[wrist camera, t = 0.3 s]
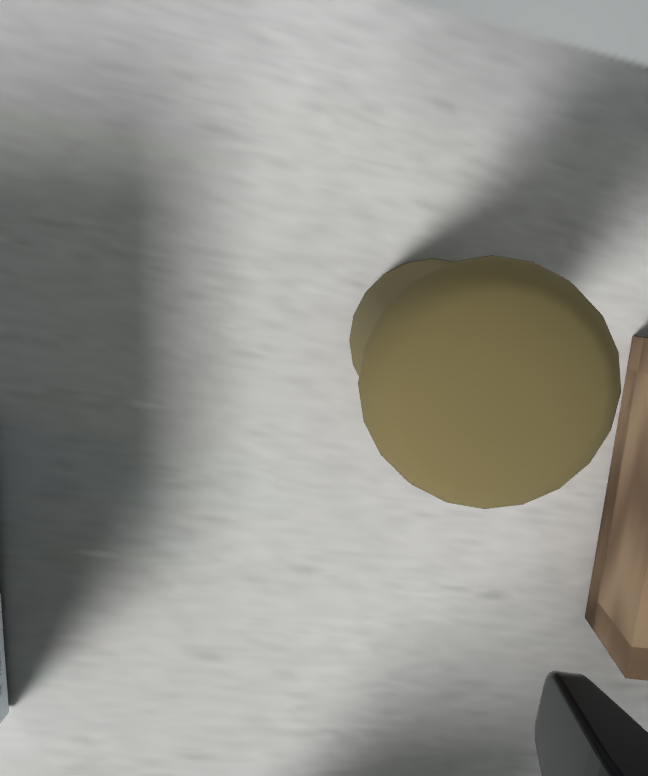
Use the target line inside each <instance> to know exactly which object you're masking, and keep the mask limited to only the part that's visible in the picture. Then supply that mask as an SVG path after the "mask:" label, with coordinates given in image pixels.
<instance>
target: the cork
mask: <svg viewBox="0 0 648 776" xmlns="http://www.w3.org/2000/svg"><path fill="white" fill-rule="evenodd" d="M349 341H350V347H351V354H352V360H353V365H354V367H355V369H356V371H357V373H358V375H359V382H358V386H359V393H360V399H361V406H362V413H363V419H364V423H365V425H366V427H367V429H368V431H369V433H370V434H371V436H372V438H373V440H374V442H375V444H376V446H377V448H378V450H379V452H380V454H381V455H382V456H383V457H384V458H385V459H386V460H387V461H388V462H389V463H390V464H391V465H392V466H393V467H394V468H395V469H396V470H397V471H398V472H399V473H400V474H401V475H402V476H403V477H404V478H405V479H406V480H407V481H408V482H409V483H411V484H412V485H414V486H416V487H418V488H420V489H421V490H423V491H425V492H427V493H429V494H431V495H433V496H435V497H437V498H439V499H441V500H443V501H445V502H447V503H453V504H459V505H465V506H470V507H476V508H482V509H488V508H496V507H505V506H513V505H521V504H525V503H527V502H529V501H532V500H534V499H536V498H539V497H541V496H543V495H546V494H548V493H550V492H553V491H555V490H557V489H559V488H561V487H562V486H563V485H564V484H565V483H566V482H568V481H569V480H570V479H571V478H572V477H574V476H575V475H576V474H577V473H578V472H580V471H581V470H582V469H583V468H584V467H586V466H587V465H588V464H589V463H590V462H591V460H592V458H593V457H594V455H595V454H596V452H597V451H598V449H599V448H600V446H601V445H602V443H603V441H604V440H605V438H606V437H607V435H608V434H609V432H610V431H611V428H612V424H613V420H614V417H615V413H616V409H617V405H618V401H619V398H620V394H621V382H620V368H619V353H618V350H617V348H616V345H615V343H614V341H613V338H612V336H611V334H610V332H609V329H608V327H607V325H606V322H605V320H604V318H603V316H602V315H601V313H600V312H599V311H598V310H597V309H596V308H595V307H594V306H593V305H592V304H591V303H590V302H589V301H588V300H587V298H586V297H585V296H584V295H583V294H582V293H581V292H580V291H579V290H578V289H577V288H576V287H575V286H574V285H573V284H572V283H571V282H570V281H568V280H566V279H565V278H563V277H561V276H559V275H557V274H555V273H553V272H551V271H549V270H547V269H545V268H544V267H542V266H540V265H538V264H536V263H534V262H530V261H524V260H517V259H511V258H505V257H498V256H492V255H491V256H485V257H479V258H473V259H467V260H461V261H455V262H453V261H446V260H440V259H434V258H432V259H426V260H420V261H413V262H407V263H405V264H403V265H401V266H399V267H397V268H395V269H393V270H391V271H390V272H388V273H386V274H384V275H383V276H382V277H381V278H380V279H379V280H378V281H377V282H376V283H375V284H374V285H373V286H372V287H371V288H370V289H369V290H368V291H367V292H366V293H365V294H364V296H363V298H362V300H361V302H360V304H359V306H358V308H357V310H356V312H355V314H354V316H353V322H352V328H351V334H350V340H349Z"/></svg>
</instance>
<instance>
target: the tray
mask: <svg viewBox="0 0 648 776" xmlns="http://www.w3.org/2000/svg"><path fill="white" fill-rule="evenodd" d="M585 618H586V620H587V621H588V623H589V624H590V626H591V627H592V629H593V630H594V632H595V633H596V635H597V636H598V638H599V639H600V641H601V642H602V644H603V645H604V647H605V648H606V650H607V651H608V653H609V654H610V656H611V657H612V659H613V660H614V662H615V663H616V665H617V666H618V668H619V669H620V671H621V672H622V674H623V675H624V677H625V678H629V679H639V680H648V337H638V336H633V337H632V343H631V349H630V355H629V361H628V367H627V373H626V378H625V384H624V390H623V396H622V402H621V408H620V414H619V420H618V426H617V431H616V437H615V443H614V449H613V455H612V461H611V467H610V473H609V479H608V484H607V490H606V496H605V502H604V508H603V514H602V520H601V526H600V532H599V537H598V543H597V549H596V555H595V561H594V567H593V573H592V579H591V584H590V590H589V596H588V602H587V608H586V614H585Z"/></svg>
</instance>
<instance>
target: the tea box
mask: <svg viewBox="0 0 648 776" xmlns="http://www.w3.org/2000/svg"><path fill="white" fill-rule="evenodd" d="M8 712H9V706H8V691H7V679H6V664H5V652H4V637H3V621H2V608H1V595H0V723H1V721H2V720H3V719H4V718H5V717H6V715H7V714H8Z"/></svg>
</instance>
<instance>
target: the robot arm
mask: <svg viewBox="0 0 648 776" xmlns="http://www.w3.org/2000/svg"><path fill="white" fill-rule="evenodd" d="M535 742H536V748H537V753H538V758H539V763H540V768H541V773H542V776H648V732H647V731H645V730H644V729H643V728H642V727H641V726H640V725H639V724H638V723H637V722H636V721H634V720H633V719H632V718H631V717H630V716H629V715H628V714H627V713H626V712H625V711H623V710H622V709H621V708H620V707H619V706H618V705H617V704H616V703H615V702H614V701H612V700H611V699H610V698H609V697H608V696H607V695H606V694H605V693H604V692H603V691H601V690H600V689H599V688H598V687H597V686H596V685H595V684H594V683H593V682H592V681H590V680H589V679H588V678H587V677H585V676H583V675H581V674H575V673H567V672H559V671H553V672H550V673H549V674H548V675H547V677H546V679H545V683H544V687H543V692H542V696H541V700H540V705H539V709H538V713H537V718H536V723H535Z"/></svg>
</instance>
